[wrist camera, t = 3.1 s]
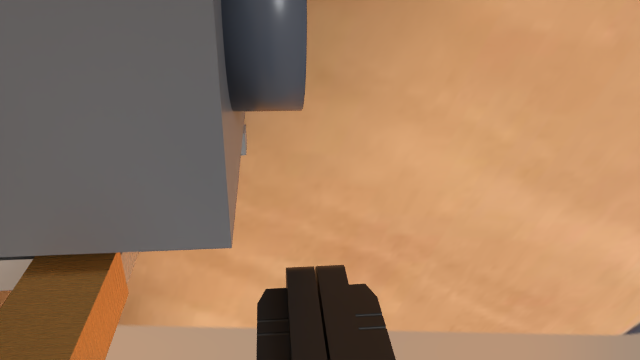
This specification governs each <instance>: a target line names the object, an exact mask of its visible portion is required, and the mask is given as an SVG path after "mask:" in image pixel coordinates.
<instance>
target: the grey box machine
mask: <svg viewBox="0 0 640 360" xmlns="http://www.w3.org/2000/svg"><path fill="white" fill-rule="evenodd" d="M306 45H307V0H0V257H19V256H44V255H69V254H94V253H118V252H143V251H168V250H193V249H218V248H232V240H233V230H234V220H235V209H236V199H237V189H238V179H239V168H240V158H241V155H246V150H247V139H246V125H244V117H245V111H300V110H302V109H303V104H304V95H305V79H306Z"/></svg>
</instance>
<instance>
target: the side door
mask: <svg viewBox="0 0 640 360" xmlns="http://www.w3.org/2000/svg"><path fill="white" fill-rule="evenodd" d="M138 254H139V252H118V253H94V254H69V255H44V256H19V257H0V291H8V290H12V292H11V293H10V295H9V296H8V298H7V299H6V301H5V302H4V304H3V305H2V307H1V308H0V360H105V358H106V355H107V353H108V349H109V347H110V344H111V341H112V338H113V336H114V333H115V330H116V327H117V325H118V322H119V319H120V316H121V313H122V311H123V308H124V305H125V302H126V299H127V297H128V294H129V293H128V288H127V283H128V281H129V278H130V275H131V273H132V270H133V267H134V264H135V262H136V259H137V256H138Z"/></svg>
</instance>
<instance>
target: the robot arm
mask: <svg viewBox="0 0 640 360" xmlns="http://www.w3.org/2000/svg"><path fill="white" fill-rule="evenodd" d="M257 360H396V359H395V356H394V353H393V349H392V346H391V342H390V339H389V335H388V332H387V329H386V325H385V322H384V318H383V316H382V312H381V308H380V305H379V302H378V298H377V296H376V295H375V294H374V293H373V292H372V291H371V290H370V289H369V288H368V286H367V285H366V284H353V285H349V284H348V280H347V275H346V271H345V267H344V265H333V266H316V268H315V270H314V267H292V268H286V288H276V289H266V290H265V292H264V293H263V295H262V297H261V299H260V300H259V302H258V306H257Z"/></svg>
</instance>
